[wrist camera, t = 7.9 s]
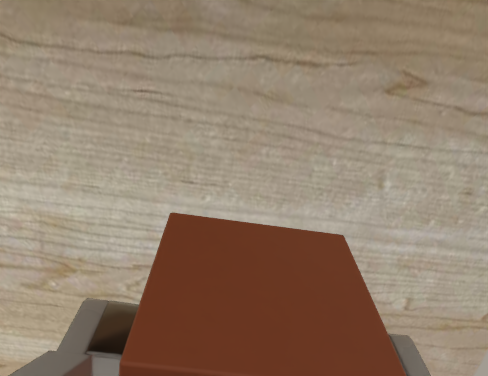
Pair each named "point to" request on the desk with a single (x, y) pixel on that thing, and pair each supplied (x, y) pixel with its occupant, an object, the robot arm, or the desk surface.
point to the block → (255, 306)
